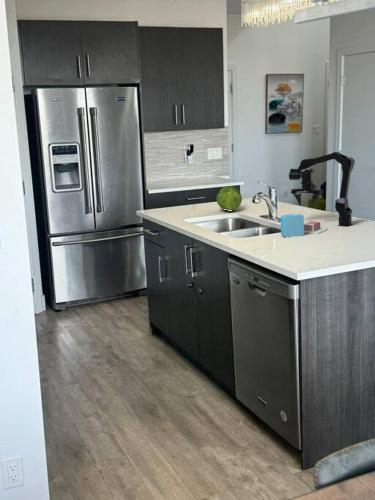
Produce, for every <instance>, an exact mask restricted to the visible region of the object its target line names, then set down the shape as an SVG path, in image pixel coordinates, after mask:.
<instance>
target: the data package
mask: <svg viewBox="0 0 375 500" xmlns="http://www.w3.org/2000/svg"><path fill="white" fill-rule="evenodd" d="M304 219H305V217H304V215H303V214H301V213H292V214H291V213H290V214H283V215H281V216H280V235H281V237H283V236H284V237H283V238H286V237H288V238H292V237H291V236H296V237H303V236H304V235H305V233H304V224H305V220H304Z"/></svg>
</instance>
